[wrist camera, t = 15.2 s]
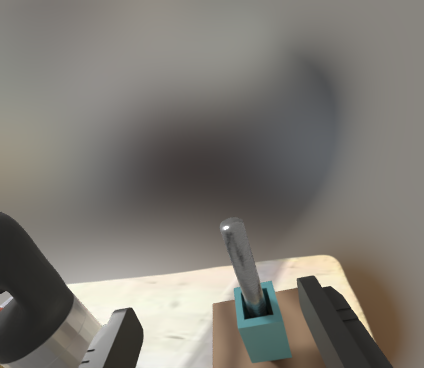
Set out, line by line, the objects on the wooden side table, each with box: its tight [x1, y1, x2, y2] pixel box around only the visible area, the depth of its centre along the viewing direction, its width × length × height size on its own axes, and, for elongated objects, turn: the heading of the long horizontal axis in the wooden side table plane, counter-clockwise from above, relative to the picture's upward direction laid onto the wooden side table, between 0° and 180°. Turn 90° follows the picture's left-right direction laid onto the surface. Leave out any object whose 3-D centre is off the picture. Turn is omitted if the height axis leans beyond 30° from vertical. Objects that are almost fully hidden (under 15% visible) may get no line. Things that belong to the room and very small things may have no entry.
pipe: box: [220, 217, 275, 361], centre depth 26 cm, size 3×3×24 cm
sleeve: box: [234, 281, 292, 363], centre depth 27 cm, size 5×5×8 cm
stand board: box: [213, 288, 326, 368], centre depth 31 cm, size 18×18×2 cm
